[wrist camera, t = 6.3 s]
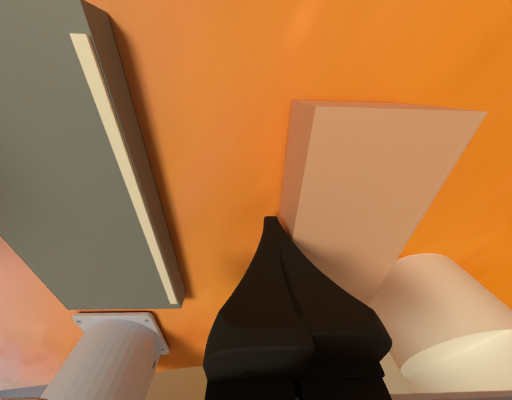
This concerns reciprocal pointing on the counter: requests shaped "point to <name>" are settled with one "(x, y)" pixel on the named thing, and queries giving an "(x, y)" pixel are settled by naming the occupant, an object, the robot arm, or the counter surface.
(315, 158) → the tan rectangular block
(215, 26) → the counter surface
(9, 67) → the board
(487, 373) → the base with upright slab
